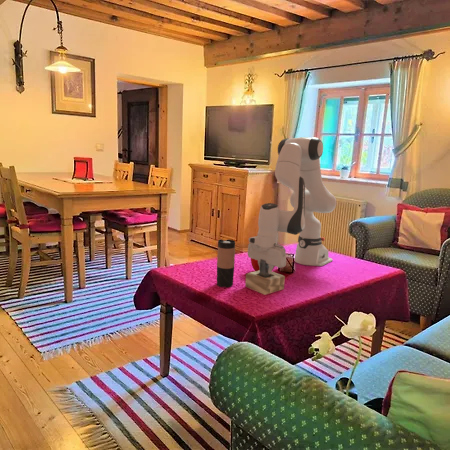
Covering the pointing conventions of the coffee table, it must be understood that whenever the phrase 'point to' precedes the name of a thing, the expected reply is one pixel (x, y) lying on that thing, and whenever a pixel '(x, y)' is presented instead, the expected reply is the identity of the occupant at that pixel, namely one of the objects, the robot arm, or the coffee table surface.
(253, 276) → the well block
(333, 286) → the coffee table surface
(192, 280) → the coffee table surface
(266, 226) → the robot arm
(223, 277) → the travel mug
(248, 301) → the coffee table surface
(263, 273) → the grey rectangular block
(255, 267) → the ceramic cup
